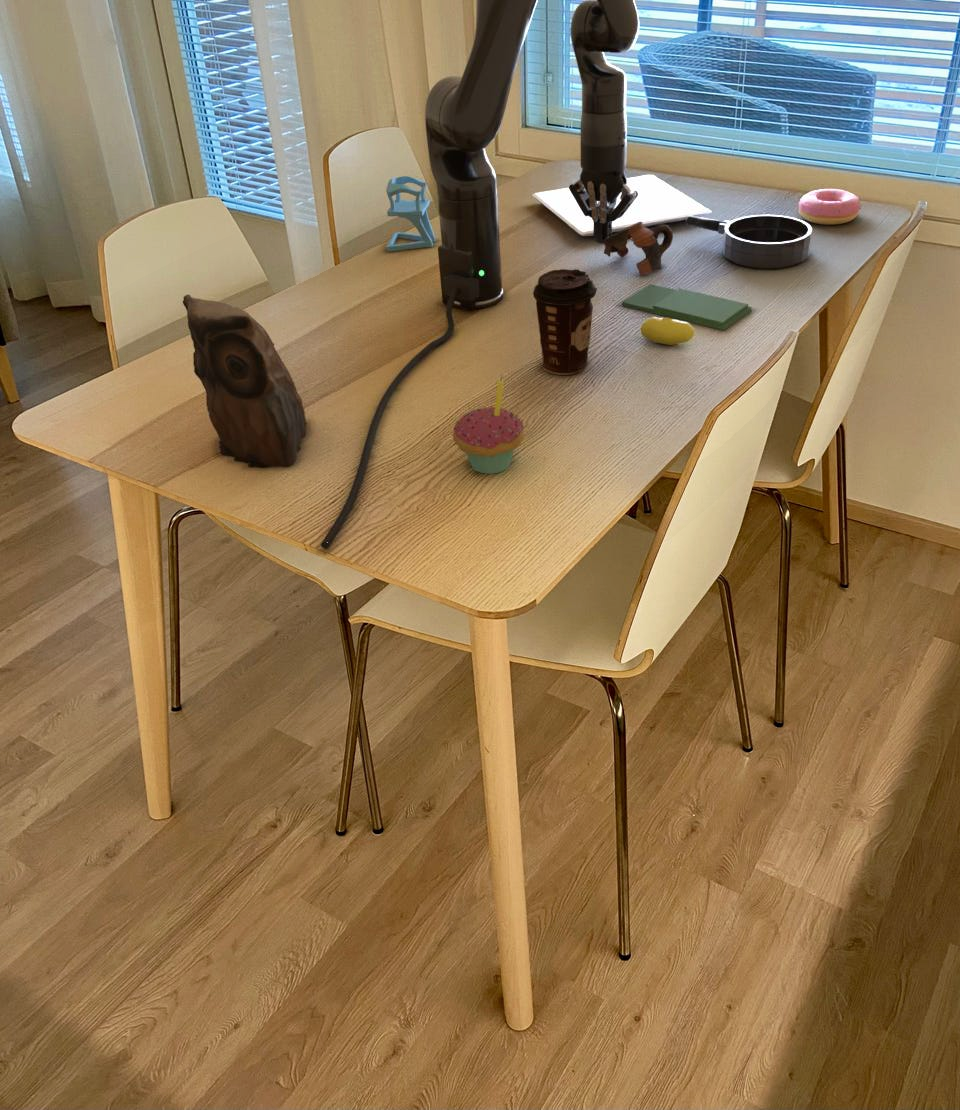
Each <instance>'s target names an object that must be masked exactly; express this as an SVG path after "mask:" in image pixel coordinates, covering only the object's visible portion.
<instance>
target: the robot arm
mask: <svg viewBox="0 0 960 1110" xmlns="http://www.w3.org/2000/svg"><path fill="white" fill-rule="evenodd" d="M537 4H538V0H475V29H474V38H473V42H472V47H471V50H470V53H469V56H468V59H467V62H466V65H465V68H464V70H463V73H462V75H461V76H460V75H449V76H446V77H443V78H441V79H440V80H438V81H437V82H436V83H435V84H434V85H433V86H432V87H431V88H430V90H429V92H428V95H427V97H426V101H425V107H424V124H425V135H426V143H427V150H428V159H429V167H430V171H431V173H432V174H431V175H432V176H433V179H434V181H435V185H436V193H437V203H438V204H437V205H438V216H439V227H440V228H439V229H440V238H441V239H440V240H441V244H439V245H438V246H437V257H438V266H439V267H438V268H439V279H440V288H441V289H440V290H441V291H440V292H441V300H442V304H444V305H446V308H445V315H446V320H447V330H446V332H445V333H444V334H443V335H442V336H441V337H439V338H436V339H435V340H433V341H431V342H429V344H427V345H426V346H425V347H424V348H422V349H421V350H420V352H418V353H417V354H416V355H415V356H413V358H412V359H411V360H409V362H407V364H406V365H404V367H403V368H402V369H401V370H400V372H399V373H398V374H397V375H396V376H395V377H394V379H393V380H392V382H391V383H390V384H389V386H388V388H387V389H386V390H385V392H384V394H383V396H382V398H381V399H380V401H379V403H378V405H377V408H376V410H375V412H374V415H373V417H372V419H371V422H370V425H369V429H368V432H367V435H366V439H365V443H364V446H363V449H362V453H361V456H360V460H359V464H358V467H357V470H356V474H355V477H354V480H353V483H352V486H351V488H350V491H349V494H348V496H347V498H346V501H345V503H344V505H343V507H342V509H341V511H340V513H339V514H338V516H337V518H336V519H335V520H334V523H333V524H332V526H331V527H330V529H329V530H328V532H327V533H326V535H325V537H323V540H322V541H321V543H320V545H321V548H323V549H325V550H327V549H329V548H330V546H331V544H332V542H333V541H334V540H335V538H336V536H337V535H338V533H339V532H340V530H341V528H342V527H343V525H344V523H345V522H346V520H347V518H348V517H349V515H350V513H351V511H352V509H353V507H354V504H355V503H356V500H357V498H358V496H359V492H360V490H361V486H362V483H363V481H364V478H365V474H366V470H367V467H368V464H369V460H370V455H371V451H372V448H373V445H374V441H375V437H376V433H377V430H378V426H379V424H380V421H381V419H382V416H383V413H384V411H385V408H386V406H387V404H388V402H389V400H390V399H391V397H392V395H393V394H394V392H395V390H396V389H397V387H398V386H399V385H400V383H401V382H402V381H403V380H404V378H405V377H406V376H407V375H408V374H409V372H410V371H412V370H413V368H414V367H416V366H417V365H418V363H419V362H421V361H422V360H423V359H424V358H425V357H426V356H427V355H428V354H430V353H431V352H432V351H433V350H434V349H436V348H437V347H439V346H441V345H443V344H444V343H446V342H447V341H449V340H450V338H451V337H452V336H453V333H454V330H455V321H454V315H453V309H454V307H455V308H459V309H462V310H466V311H469V312H472V311H474V310H477V309H482V308H487V307H490V306H493V305H496V304H498V303H499V302H501V301H502V299H503V298H504V289H503V280H502V279H503V278H502V262H501V261H502V260H501V259H502V258H501V241H500V218H499V202H498V180H497V174H496V170H495V169H494V167H493V166H492V164H491V162H490V160H489V158H488V156H487V152H486V148H487V147H488V146H489V145H490V144H491V143H492V142H493V141H494V139H495V138H496V136H497V134H498V133H499V131H500V129H501V126H502V124H503V120H504V116H505V112H506V108H507V103H508V100H509V95H510V91H511V87H512V83H513V79H514V76H515V71H516V67H517V63H518V61H519V57H520V54H521V51H522V48H523V45H524V42H525V41H526V40H525V39H526V36H527V34H528V30H529V27H530V24H531V22H532V18H533V15H534V12H535V9H536V6H537ZM637 8H638V7H637V6H636V2H635V0H584V1H582V2H581V3H579V4H578V5H577V7H576V8H575V9H574V11H573V13H572V16H571V21H570V26H569V27H570V29H569V31H570V33H569V34H570V40H571V45H572V49H573V54H574V57H575V62H576V66H577V70H578V73H579V77H580V81H581V116H580V168H581V169H582V170H581V172H580V175H579V179H578V180H577V181H576V182H573V183H571V184H570V185H569V186H568V188H569V190H570V192H571V193H572V195H573V197H574V198H575V200H576V202H577V204H578V205H579V207H580V209H581V210H582V212H583V214H584V215H585V216H589V217H591V218H592V220H593V222H594V236H593V238H594V240H595V243H596V244H601V245H604V243H603V240H605V239H606V238H607V237H610V236H611V235H613V233H612V221H615V220H616V219H618V218H620V217H622V216H623V215H624V213H625V212H626V211H627V209H628V208H629V207H630V206H631V204H632V203H633V202H634V200H635V199H636V198H637V197H638V192H637V191H636V190H634V191H632V190H631V189H630V188H629V187H628V186H627V178H628V177H627V176H626V172H625V171H626V166H627V149H628V147H627V141H628V119H627V76H626V73H625V71H624V70H622V69H620V68H619V67H616V66H615V65H612V64H611V63H610V62H608V61H607V58H606V55H605V53H609V54H625V53H627V52H628V51H630V50H631V49H632V48H633V47H634V45H635V43H636V41H637V39H638V37H639V31H640V18H639V13H638V9H637ZM621 192H622V193H621ZM620 193H621V196H620V200H621V201H620V202H619V204H618V205H617V206H616V203H617V197H618V196H619V194H620ZM615 206H616V208H615ZM327 542H328V543H327Z"/></svg>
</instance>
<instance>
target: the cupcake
mask: <svg viewBox="0 0 960 1110" xmlns="http://www.w3.org/2000/svg"><path fill="white" fill-rule="evenodd" d="M503 379H504V374H501V376H500V379H499V380H497V386H496V395H495V403H494V406H488V407H486V406H484V407H483V408H477V409H473V410H471V411H470V412H467V413H465V414H463V415H462V416H461V418H460V419H458V420H457V421H456V423H455V424H454V427H453V431H452V439H453V441H454V443H455V445H456V446H457V447H458V449H459V451H461V452H464V453H465V454H466V456H467V458H468V460H469V462H470V465H471V467H472V469H473V470H474V471H476V472H478V473H481V474H485V475H486V474H487V475H490V474H492V475H493V474H498V473H501V472H504V471H506V470H507V469H508V468H509V467H510V465H511V461H512V458H513V455H514V452H515V449H517V448H518V447H519V446H521V444H522V442H523V440H524V437H525V428H524V422H523V420H522V419H521V418H519V416H517V415H516V414H515V413H514V412H512V411H508V410H507V409H505V408H502V397H503V390H504V380H503Z"/></svg>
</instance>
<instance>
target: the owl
mask: <svg viewBox="0 0 960 1110" xmlns="http://www.w3.org/2000/svg"><path fill="white" fill-rule="evenodd" d="M182 299H183V300H182V304H183V306H184V307H185V309H186V317H187V327H188V330H189V332H190V333H189V334H190V338H191V340H192V343H193V344H192V345H193V349H194V352H193V355H192V356H193V363H192V364H193V372H194V374H195V376H196V377H197V379H199V380H200V382H201V384H202V387H203V389H204V390H205V395H206V396H205V400H206V410H207V412H208V417H209V421H210V422H211V424H212V427H213V428H214V431H215V432H216V434H217V436H218V438H219V441H218V444H219V445H218V448H219V453H220V455H221V456H223V457H224V456H225V457H231V458H234V460H233V461H234V462H237V463H238V462H240V463H244V464H247V467H248V468H259V469H264V468H271V467H273V468H274V467H276V468H277V467H284V468H290V467H291V466H293V465H294V464H295V463H296V462H297V459H298V452H299V451H300V450H301V444H302V441H303V439H304V438H305V437H306V435H307V430H306V429H307V426H308V425H307V424H308V423H307V421H306V420H307V419H306V412H305V407H304V406H303V400H302V397H301V395H300V394H299V392H298V390H297V387H296V385H295V382H294V380H293V378H292V376H291V373H290V372H289V369H288V368H287V366H286V365H285V363H284V361H283V360H282V358H281V356H280V355H279V353H278V351H277V350H276V349H277V348H276V347H275V343H274V342H273V340H272V338H271V337H270V335H269V333H268V332H267V330H266V329H265V327H263V326H262V324H260V323H259V322H258V321H257V320H256V319H255V318H253V316H251V315H250V314H249V313H248V312H247V311H246V310H244V309H242V308H240V307H238V306H232V305H230V304H229V303H225V302H220V301H217V300H209V299H203V298H197V297H193V296H191V295H190V294H185V295H184V296H183V298H182Z"/></svg>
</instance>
